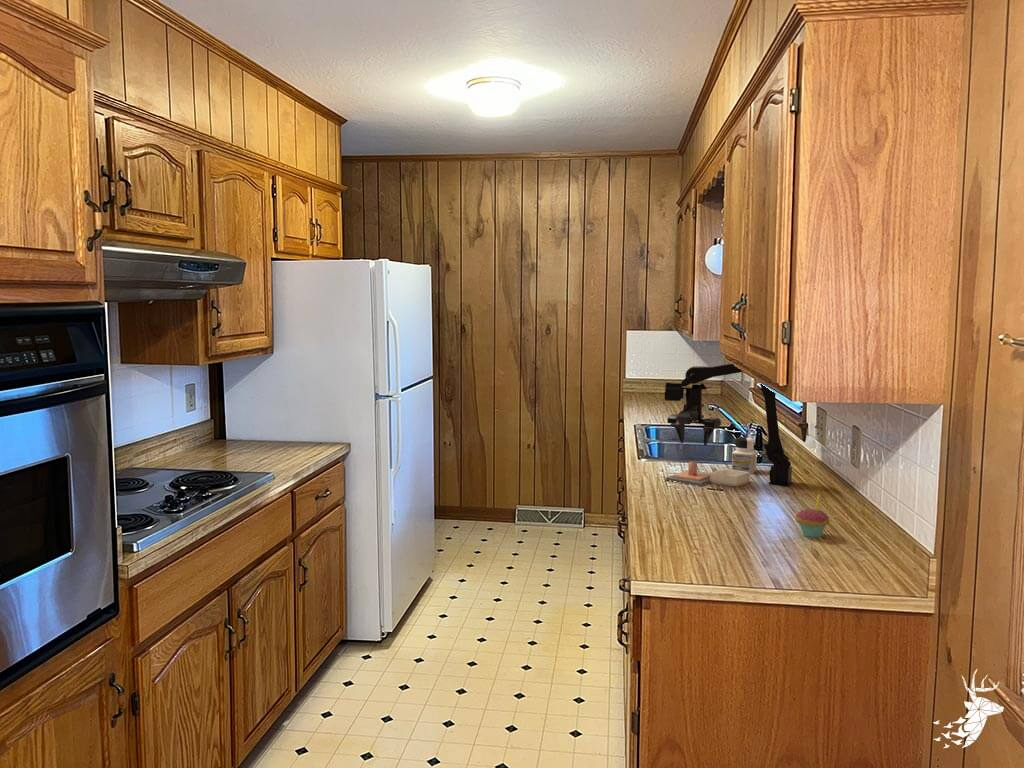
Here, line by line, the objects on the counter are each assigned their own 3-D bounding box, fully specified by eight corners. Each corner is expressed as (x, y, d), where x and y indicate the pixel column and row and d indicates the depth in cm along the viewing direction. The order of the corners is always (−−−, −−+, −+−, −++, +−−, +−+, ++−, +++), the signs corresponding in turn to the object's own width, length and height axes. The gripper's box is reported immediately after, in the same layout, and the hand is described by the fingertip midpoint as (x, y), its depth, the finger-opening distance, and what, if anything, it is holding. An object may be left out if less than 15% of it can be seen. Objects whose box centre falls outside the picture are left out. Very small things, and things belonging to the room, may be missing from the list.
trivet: (719, 479, 276) (719, 476, 276) (700, 486, 266) (700, 483, 266) (685, 474, 286) (685, 470, 286) (665, 480, 275) (665, 477, 275)
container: (731, 472, 287) (732, 438, 286) (735, 468, 294) (736, 435, 293) (752, 474, 284) (753, 439, 282) (756, 470, 291) (757, 436, 289)
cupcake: (817, 529, 213) (818, 487, 212) (835, 538, 205) (836, 494, 204) (789, 531, 212) (790, 489, 211) (806, 540, 203) (807, 496, 202)
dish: (749, 481, 272) (749, 472, 272) (736, 486, 265) (736, 477, 264) (723, 477, 279) (723, 468, 278) (710, 482, 271) (710, 473, 271)
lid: (713, 476, 276) (713, 461, 276) (698, 481, 268) (698, 466, 268) (686, 472, 283) (686, 458, 283) (672, 477, 275) (672, 463, 275)
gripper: (659, 402, 274) (659, 444, 276) (707, 405, 262) (706, 450, 264) (675, 399, 283) (674, 440, 284) (721, 402, 270) (721, 445, 272)
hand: (693, 444), depth 276 cm, fingers open, 9 cm apart
